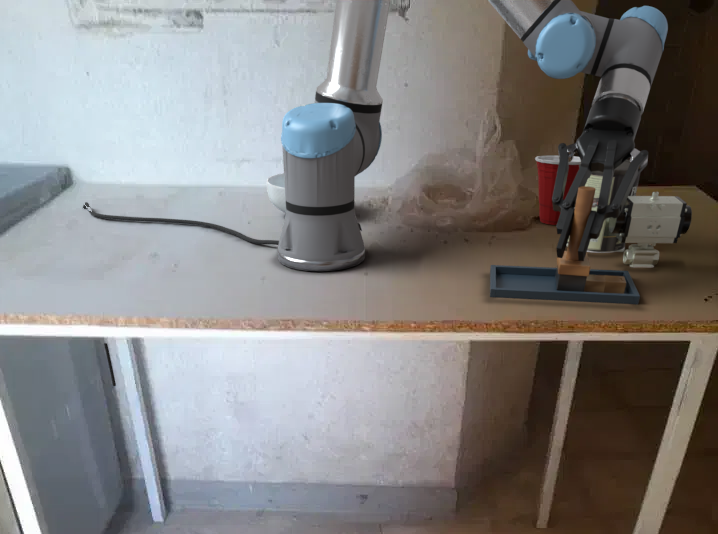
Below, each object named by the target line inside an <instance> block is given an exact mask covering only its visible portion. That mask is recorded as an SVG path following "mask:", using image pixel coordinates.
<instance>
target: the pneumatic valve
mask: <svg viewBox="0 0 718 534" xmlns="http://www.w3.org/2000/svg"><path fill="white" fill-rule="evenodd" d="M692 219H693V210H692V207H691V206H690V205H688V202H686V200H683V199H682V198H681V197H680V196H676V195H675V196H674V195H659V191H652V193H651V195H636V196H628V198H627V200H626V202H625V204H624V206H623V208H622V211H621V213H620V215H619V217H618V218H612V217H610V218H609V231H610V233H615V236H616V237H617V238H618V240H619V241H620V242H621V243H626V244H630V245H628V249H626V248H625V250H624V251H623V255H622V263H623V264H624V265H627V266H628V265H629V268H637V269H638V268H639V269H643V268H644V269H645V268H647V269H651V268H655V266H656V265H657V264H658V263H659V261H660V251H659V250H658V249H655V248H654V247H655V246H656V245H657V244H678V240H679V238H681V237H682V235H686V234H687V233H688V232H689V229H690V227H691V224H692Z"/></svg>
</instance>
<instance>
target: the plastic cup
mask: <svg viewBox="0 0 718 534" xmlns="http://www.w3.org/2000/svg"><path fill="white" fill-rule="evenodd" d="M534 159H535V161H536V166H537V167H536V169H537V175H538V177H537V178H538V179H537V181H538V207H539V211H538V212H539V213H538V215H539V222H540V223H542V224H545V225H551V226H556V225H557V222H558V220H559V216H560V213H561V212H559V211H554V210H553V204H552V196H553V191H554V186H555V181H556V176H557V171H558V166H559V161H560V160H559V155H538V156H536V157H535V158H534ZM580 162H581V160H580V158H579V156H575V155H574V156H573V159H572V160H571V162H569V170H568V175H567V180H566V185H565V191H564V196H563V200H565V198H566V196H567V194H568V192H569V189H570V187H571V185H572V183H573V181H574V179H575V177H576V175H577V172H578V170H579V163H580Z"/></svg>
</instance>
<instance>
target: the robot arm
mask: <svg viewBox="0 0 718 534" xmlns="http://www.w3.org/2000/svg"><path fill="white" fill-rule="evenodd" d="M487 1H488V3H489V4H490V5H491V6H492V7H493V9H494V10H495V11H496V12H497V13H498V14H499V16H500V17H501V18H502V19H503V20H504V22H506V24H507V25H508V27H510V28H511V30H512V32H514V33H515V35H517V37H518V38H519V39H520V40H521V42H522V44H524V46H525V47H526V48H527V56H528V58H529V59H530V60H532V61H536V62H537V66H538V67H539V68H540V70H541V71H542V72H543V73H544V74H545V75H546V76H548V77H549V78H552V79H555V80H565V79H570V78H572V77H575V76H576V75H577V74H579V73H583V74H586V75H591V76H594V77H595V76H596V77H600V79H599V82H598V85H597V88H596V91H595V94H594V97H593V100H592V103H591V107H590V110H589V113H588V116H587V118H586V122H585V123H584V124H585V125H584V128H583V131H582V133H581V135H580V136H579V137H578V138H577V139H576V142H574V143H570V144H568V145H567V143H565V142H561V143H559V144H558V146H557V149H558V150H557V151H558V156H559V160H560V161H559V166H558V171H557V176H556V181H555V186H554V191H553V196H552V204H553V210H554V211H559V212H561V213H560V216H559V220H558V222H557V225H555V227H556V233H557V234H556V235H560V236H559V239H558V241H557V245H556V248H555V250H556V259H557V258H563V255H564V252H565V251H566V249H567V246H566V245H567V242H568V239H569V236H570V232H571V226H572V221H573V215H574V210H575V209H574V208H575V204H576V199H577V193H578V188H579V187H582V186H585V184H586V182H587V180H588V178H590V176H591V174H592V172H593V171H601V172H603V178H602V184H601V189H600V195H599V200H598V205H597V212H596V211H591V212H590V215H589V218H588V221H587V224H586V227H585V230H584V234H583V237H582V240H581V243H580V246H579V249H578V261H584V258H585V255H586V252H587V249H588V246H589V243H590V240H591V238H592V239H597V238H598V237H599V235H600V232H601V229H602V226H603V222H604V220H605V219H607V218H610V217H612V218H618V217H619V215H620V213H621V211H622V208H623V206H624V204H625V202H626V200H627V198H628V195H629V193H630V191H631V189H632V187H633V184H634V182H635V180H636V178H637V176H638V174H639V173H640V174H641V172H642V171H643V170H644V169H645V168H646V167H647V166H648V159H649V151H648V150H647V149H642V150H641V151H640V150H639V149H637V148H635V147H636V143H635V139H636V135H637V132H638V129H639V126H640V123H641V120H642V115H643V113H644V110H645V107H646V104H647V100H648V98H649V94H650V90H651V87H652V84H653V81H654V80H655V77H656V73H657V71H658V66H659V65H660V60H661V59H662V55H663V52H664V50H665V49H664V48H665V42H666V39H667V34H668V32H669V31H668V30H669V24H668V20H667V18H666V15H664V14H663V13H664V12H662V11H660V10H659V9H658V8H656V7H653V6H649V5H643V6H640V7H637V6H634V7H632V8H629V9H628V10H627V11H626V12H624V13H623V14H622V15H621V17H620V19H617V18H611V17H610V18H608V17H605V16H601V15H597V14H594V13H590V12H586V11H581V10H580V9H579V8H578V7H577V5H576V4H575V3H574V1H572V0H487ZM390 4H391V0H335V6H334V7H335V9H334V16H333V22H332V23H333V25H332V31H331V39H330V46H329V47H330V48H329V56H328V62H327V63H328V64H327V70H326V78H325V79H324V80H323V82H321V83H320V84H319V85H317V86H316V88H315V95H314V103H308V104H305V105H300V106H299V105H298V106H295V107H294V108H291V109H290V110H288V111H287V112H286V113H285V114H284V116H283V118H282V123H281V136H280V141H281V145H282V162H283V173H284V182H285V199H286V213H285V217H284V221H283V224H282V228H281V231H280V236H279V240H276V239H275V240H274V239H256V238H253V237H250V236H247V235H246V234H243V233H242V232H239V231H237V230H235V229H231V228H228V227H225V226H222V225H219V224H215V223H211V222H207V221H206V222H205V221H199V220H193V219H192V220H191V219H178V218H165V217H164V218H163V217H138V216H125V215H110V214H103V213H99V212H95V211H93V210H92V211H93V212H91V211H88V213H89V214H90V215H91V216H93V217H96V218H99V219H107V220H115V221H116V220H117V221H126V222H127V221H129V222H147V223H152V222H153V223H167V224H180V225H181V224H182V225H183V224H184V225H193V226H201V227H208V228H212V229H216V230H220V231H222V232H225V233H228V234H230V235H234V236H236V237H238V238H240V239H242V240H243V241H246V242H249V243H251V244H255V245H271V246H277V260H278V262H279V263H280V264H281V265H283V266H285V267H288V268H290V269H294V270H298V271H299V270H300V271H306V272H332V271H341V270H345V269H349V268H353V267H355V266H358V265H359V264H361V263H362V262H363V261H364V260H365V258H366V246H365V242H364V238H363V235H362V232H363V229H362V226H361V223H359V222H358V219H357V216H356V210H355V198H356V197H355V196H356V195H355V193H356V192H355V191H356V189H355V177H356V176H358V175H360V174H361V173H363V172H364V171H365V170H367V169H368V168H369V167H370V166H371V165H372V164H373V163H374V161H375V159H376V157H377V156H378V154H379V151H380V148H381V146H382V138H383V135H382V134H383V130H382V125H381V122H380V120H381V114H382V107H383V104H384V103H383V100H384V99H383V98H382V96H381V94H380V92H379V91H378V88H377V85H378V78H379V72H380V66H381V60H382V53H383V48H384V42H385V41H384V40H385V36H386V30H387V24H388V18H389V13H390V12H389V11H390ZM576 153H577V155H578V157H579V158H580V160H581V165H580V168H579V170H578V172H577V175H576V177H575V179H574V181H573V183H572V185H571V187H570V189H569V192H568V194H567V196H566V198H565V200H563V196H564V191H565V185H566V180H567V175H568V170H569V162H571V160H572V159H573V156H575V155H576ZM626 160H630V165H629V167H628V169H627V172H626V174H625V176H624V178H623V180H622V182H621V185H620V187H619V189H618V191H617V193H616V195H615V198H614V200H613V202H612V204H611V205H608V202H609V196H610V190H611V185H612V180H613V175H614V169H616V168H617V167H618V166H620V165H621V164H622V163H623V162H625V161H626ZM84 203H85V205H86V206H87V207H90V208H91V205H90V203H89V202H88V201H86V202H84ZM85 205H84V204H83V205H82V209H83V208H84V209H83V210H87V208H86V206H85ZM89 205H90V206H89ZM587 253H588V252H587ZM103 346H104V350H105V354H106V359H107V364H108V369H109V374H110V379H111V383H112V386H113V387H116V386H117V385H116V384H117V383H116V379H115V374H114V368H113V364H112V358H111V354H110V350H109V344H108V342H107V343H105V342H104V343H103Z"/></svg>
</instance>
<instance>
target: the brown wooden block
mask: <svg viewBox="0 0 718 534" xmlns="http://www.w3.org/2000/svg"><path fill="white" fill-rule="evenodd" d="M604 287H605V278H604V275H589V276H587V279H586V284H585V289H584V292H598V293H603V292H604Z"/></svg>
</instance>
